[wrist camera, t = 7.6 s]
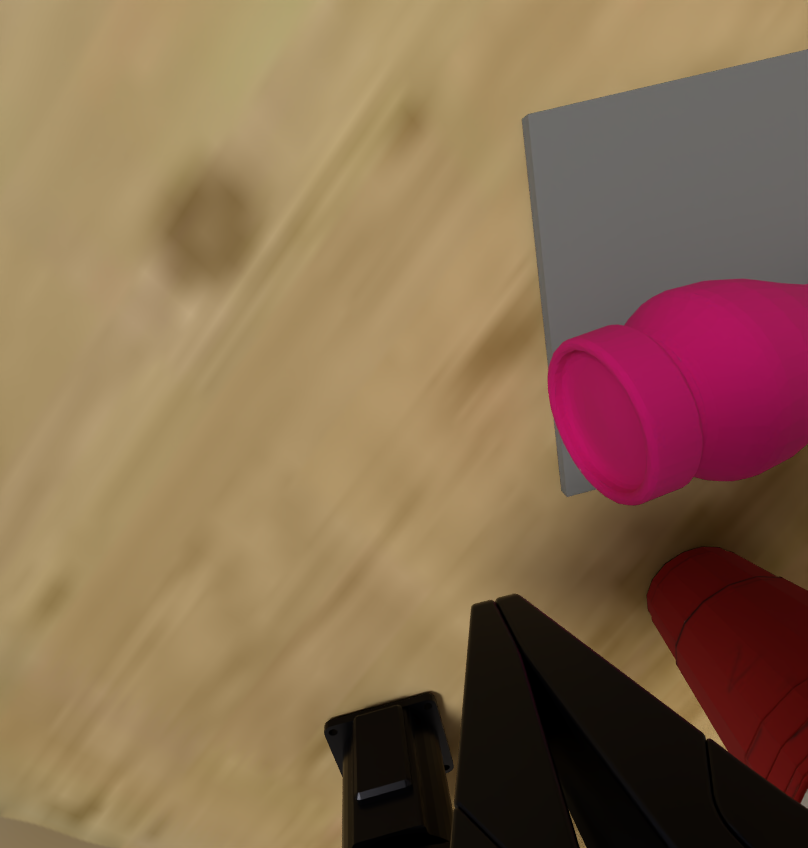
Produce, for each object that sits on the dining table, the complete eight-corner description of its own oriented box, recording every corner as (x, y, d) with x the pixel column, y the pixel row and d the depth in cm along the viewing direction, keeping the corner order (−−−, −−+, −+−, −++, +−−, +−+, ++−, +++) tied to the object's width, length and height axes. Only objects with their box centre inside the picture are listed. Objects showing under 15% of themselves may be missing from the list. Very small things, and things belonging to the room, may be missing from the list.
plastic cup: (804, 489, 24) (1196, 687, 13) (761, 642, 28) (1037, 898, 17) (611, 514, 23) (856, 751, 12) (594, 669, 27) (769, 959, 16)
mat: (826, 421, 23) (838, 425, 22) (561, 490, 22) (567, 496, 22) (878, 36, 17) (896, 28, 16) (521, 119, 17) (528, 114, 16)
